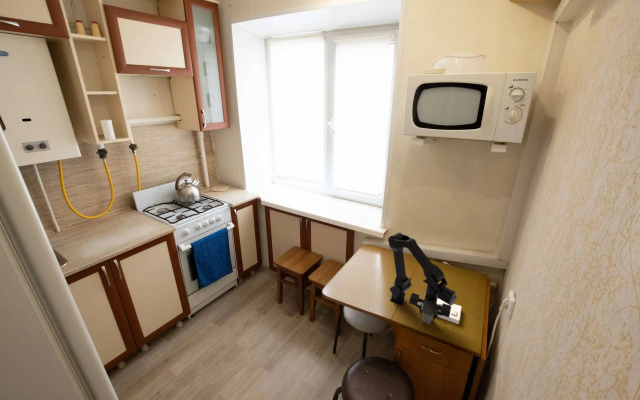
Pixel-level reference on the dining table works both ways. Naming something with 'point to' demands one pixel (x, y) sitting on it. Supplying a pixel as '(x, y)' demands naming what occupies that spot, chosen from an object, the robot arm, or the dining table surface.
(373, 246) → the dining table surface
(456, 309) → the socket plate
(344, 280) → the dining table surface
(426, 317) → the plug
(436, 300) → the robot arm
